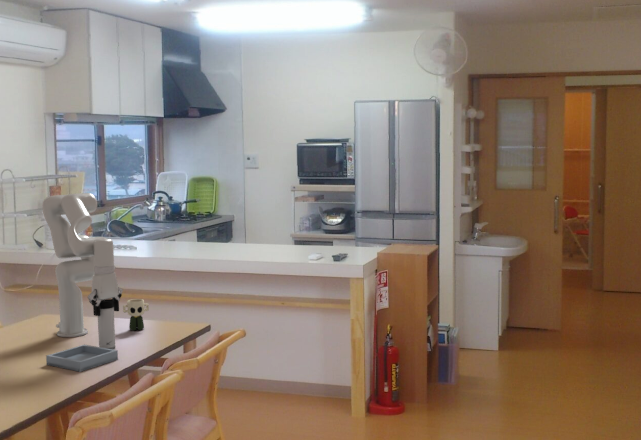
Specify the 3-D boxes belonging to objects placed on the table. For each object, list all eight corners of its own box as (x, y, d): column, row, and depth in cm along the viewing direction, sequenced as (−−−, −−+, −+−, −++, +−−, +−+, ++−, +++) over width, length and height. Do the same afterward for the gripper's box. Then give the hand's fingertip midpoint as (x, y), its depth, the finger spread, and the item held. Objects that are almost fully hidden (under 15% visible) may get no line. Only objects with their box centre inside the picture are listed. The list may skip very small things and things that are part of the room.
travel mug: (111, 351, 302) (109, 301, 300) (96, 350, 303) (94, 300, 301) (119, 347, 308) (117, 297, 306) (103, 346, 309) (101, 297, 307)
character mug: (124, 332, 332) (123, 302, 331) (123, 328, 339) (122, 299, 338) (150, 330, 335) (148, 301, 334) (149, 326, 342) (147, 297, 341)
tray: (46, 364, 284) (46, 355, 284) (84, 353, 300) (84, 344, 299) (80, 371, 275) (79, 362, 275) (117, 359, 290) (117, 350, 290)
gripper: (114, 266, 312) (116, 308, 313) (80, 273, 297) (82, 316, 299) (127, 267, 308) (129, 310, 309) (94, 274, 293) (96, 318, 295)
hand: (106, 313), depth 304 cm, fingers open, 9 cm apart
